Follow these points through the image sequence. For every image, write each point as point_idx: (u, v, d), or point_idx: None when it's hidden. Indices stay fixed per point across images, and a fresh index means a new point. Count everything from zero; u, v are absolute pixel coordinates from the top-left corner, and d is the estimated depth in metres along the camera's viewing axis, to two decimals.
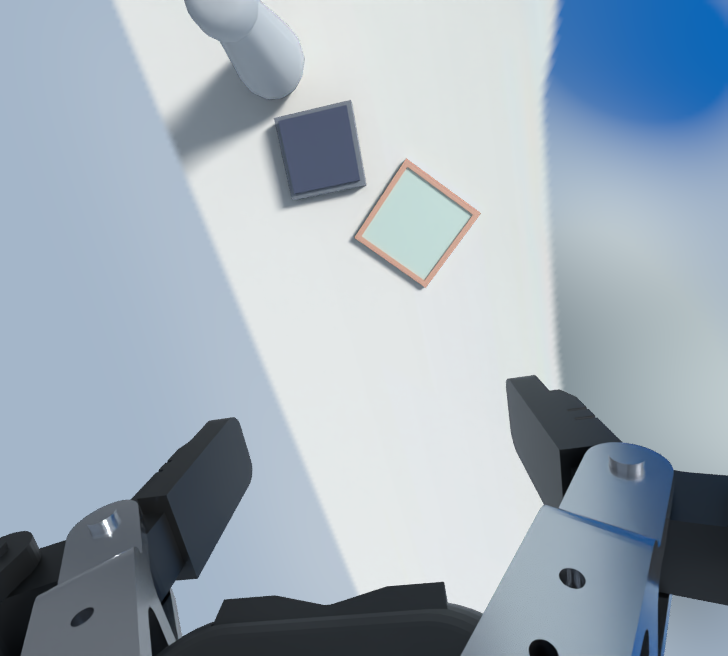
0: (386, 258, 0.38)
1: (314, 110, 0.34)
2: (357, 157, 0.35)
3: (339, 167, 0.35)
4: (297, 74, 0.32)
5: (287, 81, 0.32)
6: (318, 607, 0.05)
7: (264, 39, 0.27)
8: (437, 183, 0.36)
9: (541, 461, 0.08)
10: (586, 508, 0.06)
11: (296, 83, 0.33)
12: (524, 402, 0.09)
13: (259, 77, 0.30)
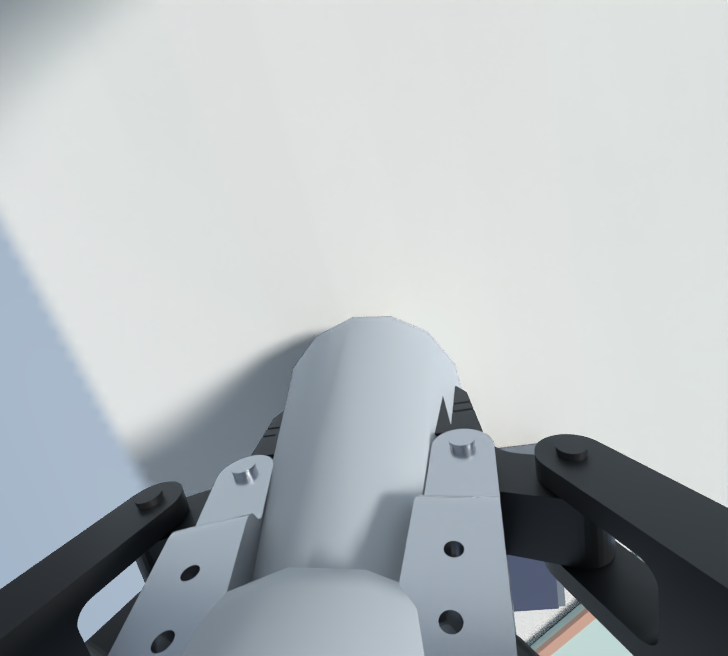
0: None
1: None
2: None
3: (515, 585, 0.16)
4: None
5: None
6: None
7: None
8: None
9: None
10: (444, 490, 0.07)
11: None
12: None
13: None
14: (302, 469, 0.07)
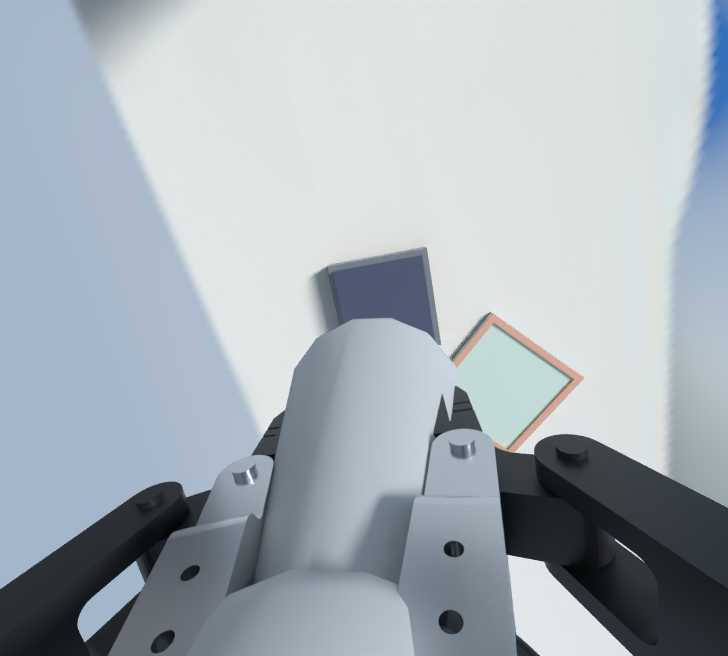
0: None
1: (379, 259, 0.27)
2: (432, 314, 0.28)
3: None
4: None
5: None
6: None
7: None
8: (531, 342, 0.28)
9: None
10: (444, 490, 0.07)
11: None
12: None
13: None
14: (303, 472, 0.07)
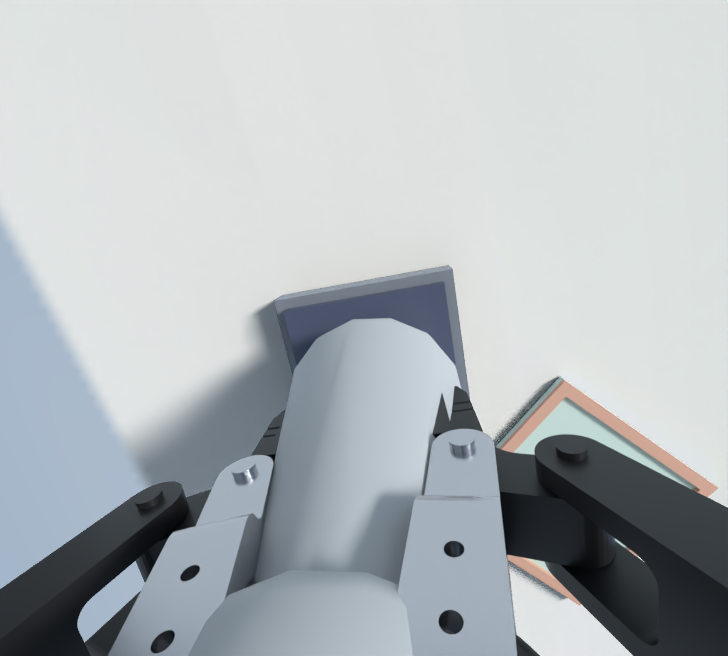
0: None
1: (366, 288, 0.15)
2: (460, 384, 0.16)
3: None
4: None
5: None
6: None
7: None
8: (629, 430, 0.16)
9: None
10: (444, 490, 0.07)
11: None
12: None
13: None
14: (303, 472, 0.07)
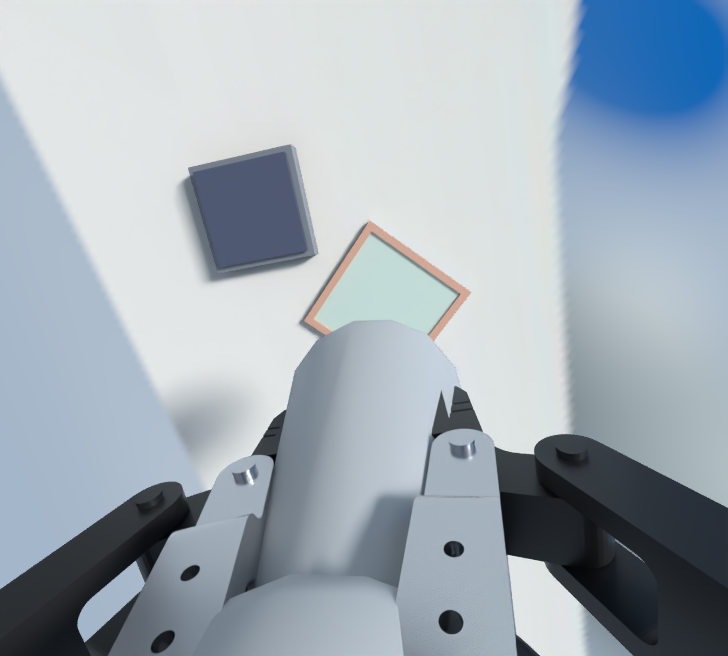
0: None
1: (242, 157, 0.25)
2: (302, 220, 0.26)
3: (278, 234, 0.26)
4: None
5: None
6: None
7: None
8: (412, 253, 0.26)
9: None
10: (444, 490, 0.07)
11: None
12: None
13: None
14: (303, 475, 0.07)
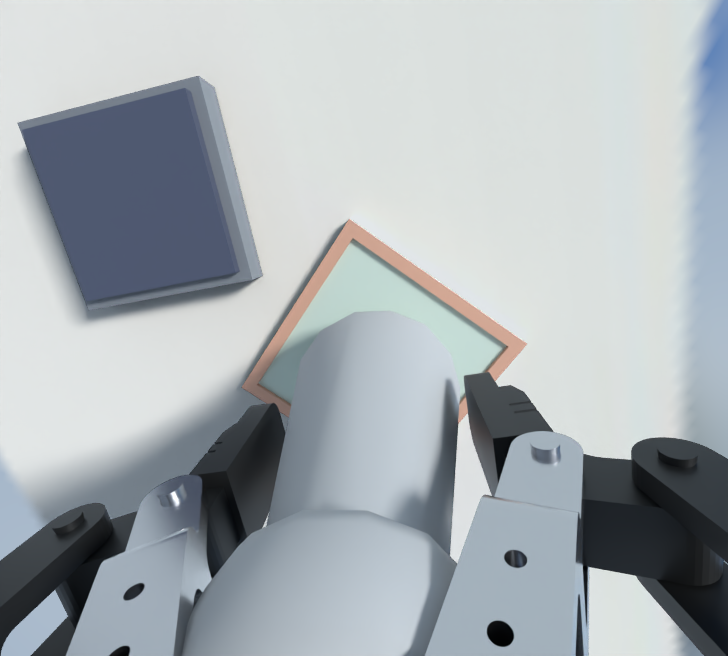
0: None
1: (112, 103, 0.14)
2: (228, 218, 0.14)
3: (184, 243, 0.14)
4: None
5: None
6: None
7: None
8: (424, 277, 0.15)
9: (485, 450, 0.09)
10: (517, 494, 0.06)
11: None
12: (473, 396, 0.10)
13: None
14: (311, 442, 0.08)
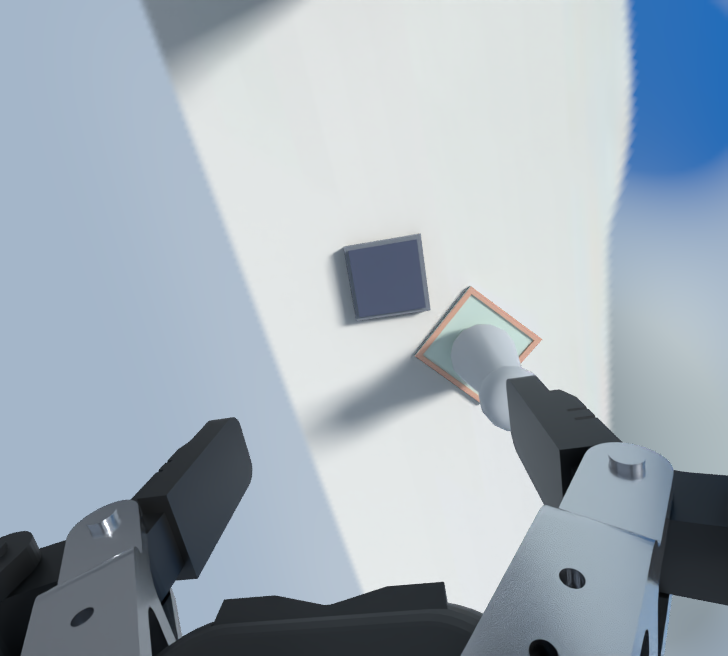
0: (446, 376, 0.38)
1: (384, 241, 0.35)
2: (423, 285, 0.36)
3: (406, 295, 0.36)
4: None
5: None
6: (318, 607, 0.05)
7: None
8: (500, 310, 0.36)
9: (541, 461, 0.08)
10: (586, 508, 0.06)
11: None
12: (524, 402, 0.09)
13: None
14: (487, 361, 0.29)
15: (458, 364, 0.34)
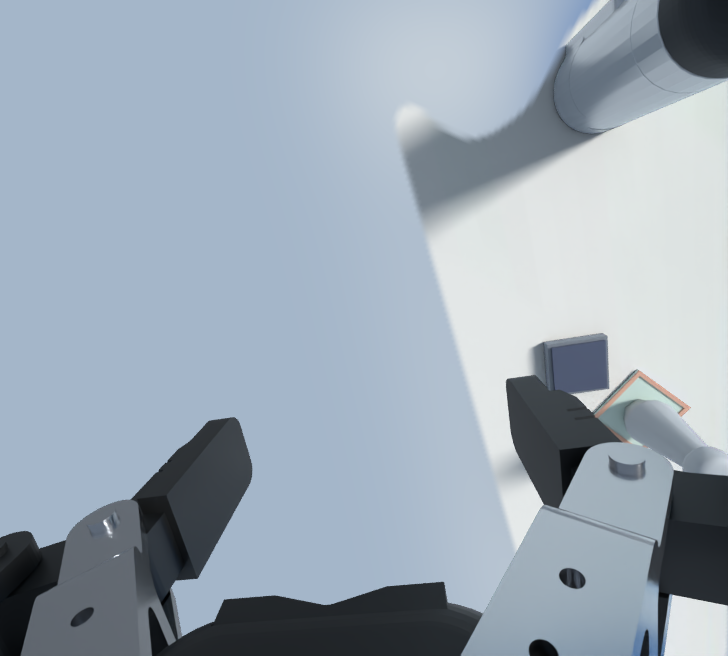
0: None
1: (578, 341, 0.47)
2: None
3: (593, 379, 0.48)
4: None
5: None
6: (318, 607, 0.05)
7: None
8: (660, 387, 0.49)
9: (541, 461, 0.08)
10: (586, 508, 0.06)
11: None
12: (524, 402, 0.09)
13: None
14: (678, 437, 0.42)
15: (640, 432, 0.46)
